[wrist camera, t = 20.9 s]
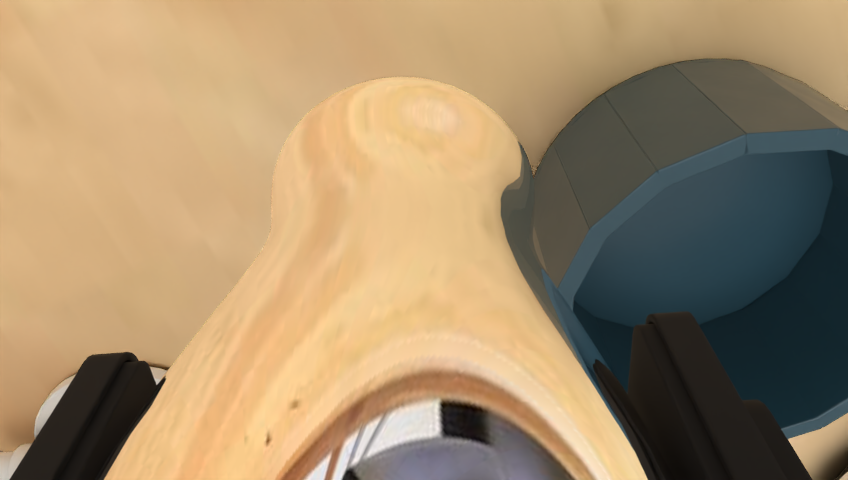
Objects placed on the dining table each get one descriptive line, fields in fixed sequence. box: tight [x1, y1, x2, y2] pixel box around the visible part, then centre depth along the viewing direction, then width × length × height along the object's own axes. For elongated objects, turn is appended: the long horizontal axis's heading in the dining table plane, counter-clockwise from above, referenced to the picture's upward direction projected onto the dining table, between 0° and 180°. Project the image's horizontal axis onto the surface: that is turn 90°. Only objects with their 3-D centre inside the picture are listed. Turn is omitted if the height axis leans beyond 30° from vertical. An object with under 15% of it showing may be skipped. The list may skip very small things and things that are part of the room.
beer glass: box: [93, 77, 676, 480], centre depth 9 cm, size 7×7×15 cm
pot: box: [533, 59, 848, 439], centre depth 30 cm, size 16×21×8 cm
